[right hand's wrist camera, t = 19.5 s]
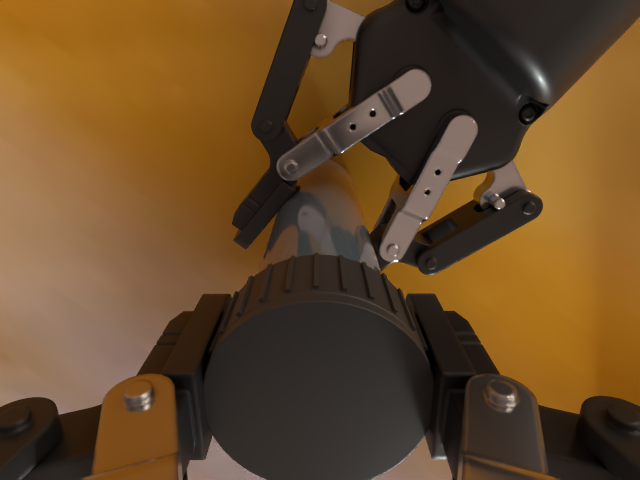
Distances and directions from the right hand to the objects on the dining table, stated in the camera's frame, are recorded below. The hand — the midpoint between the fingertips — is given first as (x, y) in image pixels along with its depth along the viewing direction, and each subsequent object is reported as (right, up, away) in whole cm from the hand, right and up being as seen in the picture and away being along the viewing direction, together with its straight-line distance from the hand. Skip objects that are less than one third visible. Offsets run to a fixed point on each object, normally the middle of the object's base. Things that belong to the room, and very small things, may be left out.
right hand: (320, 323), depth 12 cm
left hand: (-2, +1, +9) cm, 9 cm away
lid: (0, -1, -3) cm, 3 cm away
